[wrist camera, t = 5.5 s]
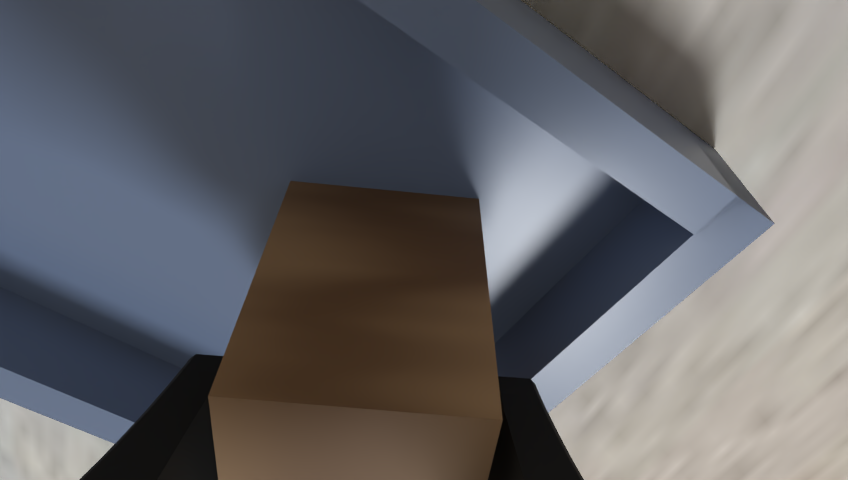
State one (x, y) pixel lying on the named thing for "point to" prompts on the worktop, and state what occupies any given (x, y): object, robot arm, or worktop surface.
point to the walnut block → (362, 344)
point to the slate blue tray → (325, 180)
